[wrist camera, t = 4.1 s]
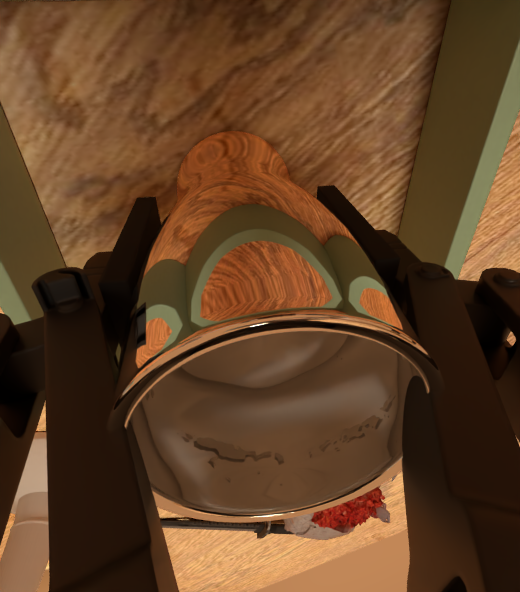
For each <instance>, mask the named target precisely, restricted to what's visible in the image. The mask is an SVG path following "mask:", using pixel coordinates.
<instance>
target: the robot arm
mask: <svg viewBox="0 0 520 592" xmlns="http://www.w3.org/2000/svg"><path fill="white" fill-rule="evenodd" d="M317 199H318V200H319V201H320V202H322V203H323V204H324V205H325V206H327V207H328V208H329V209H330V210H331V211H332V212H333V213H334V214H335V215H336V216H337V217H338V218H339V219H340V220H341V221H342V222H343V224H344V225H345V226H346V227H347V228H348V229H349V230H350V232H351V233H352V234H353V235H354V236H355V237H356V239H357V240H358V241H359V242H360V244H361V245H362V247H363V248H364V249H365V251H366V252H367V254H368V255H369V257H370V258H371V260H372V261H373V262H374V264H375V265H376V267H377V268H378V270H379V271H380V273H381V274H382V276H383V278H384V279H385V281H386V283H387V284H388V286H389V288H390V289H391V291H392V293H393V294H394V296H395V298H396V299H397V301H398V303H399V305H400V306H401V308H402V310H403V312H404V314H405V315H406V317H407V319H408V321H409V323H410V324H411V326H412V328H413V330H414V331H415V333H416V335H417V336H418V338H419V340H420V341H421V343H422V345H423V346H424V348H425V349H426V350H427V352H428V353H429V354H430V355H431V356H432V358H433V359H434V360H435V362H436V363H437V365H438V367H439V369H440V371H441V373H442V376H443V379H444V383H445V390H444V391H438V392H433V391H429V393H427V392H426V388H425V384H424V382H423V380H422V378H421V377H419V376H417V375H416V376H413V377H412V378H411V380H410V382H409V384H408V388H407V392H406V397H405V404H404V413H403V426H402V451H403V457H402V472H403V483H404V494H405V505H406V516H407V527H408V538H409V550H410V565H409V573H408V580H407V592H520V447H519V444H518V441H517V439H518V440H519V442H520V273H518V272H516V271H514V270H511V269H509V270H508V269H506V268H490V269H486V270H484V271H483V272H482V274H481V276H480V279H479V281H478V282H477V281H467V280H457V279H455V278H454V276H453V274H452V273H451V271H450V270H448V269H446V268H445V267H443V266H440V265H438V264H435V263H429V262H421V260H420V259H419V258H418V257H417V256H416V255H415V254H414V253H413V252H412V251H411V250H410V249H407V246H406V245H405V244H404V243H402V241H401V240H400V239H399V238H398V237H397V236H396V235H394V234H392V233H390V232H388V231H386V230H375V229H374V228H373V227H372V226H371V225H370V224H369V223H368V222H367V220H366V219H365V218H364V217H363V216H362V215H361V214H360V213H359V212H358V211H357V210H356V208H355V207H354V206H353V205H352V204H351V203H350V202H349V201H348V200H347V199H346V198H345V196H344V195H343V194H342V193H341V192H340V191H339V190H338V189H337V188H336V187H335V186H334V185H331V186H318V187H317ZM160 226H161V222H160V217H159V212H158V207H157V202H156V197H144V198H137V199H136V201H135V204H134V206H133V208H132V210H131V212H130V214H129V217H128V219H127V221H126V223H125V225H124V227H123V230H122V232H121V234H120V236H119V238H118V240H117V243H116V245H115V247H114V249H113V251H111V252H98V253H96V254H95V255H94V256H92V257H91V258H90V259H89V260H88V261H87V262H86V264H85V266H84V268H83V269H80V268H76V267H66V268H60V269H56V270H53V271H50V272H47V273H45V274H43V275H41V276H39V277H38V278H37V279H36V280H35V281H34V282H33V284H32V286H31V288H32V290H33V292H34V294H35V296H36V298H37V300H38V302H39V304H40V306H41V308H42V310H43V312H44V316H43V317H40V318H37V319H34V320H31V321H27V322H23V323H20V324H16V325H14V324H13V322H12V320H11V319H10V317H9V316H8V315H5V314H1V313H0V545H1V541H2V538H3V535H4V532H5V528H6V525H7V522H8V519H9V516H10V512H11V509H12V506H13V503H14V499H15V496H16V493H17V490H18V487H19V483H20V480H21V477H22V474H23V471H24V467H25V464H26V461H27V458H28V454H29V451H30V448H31V445H32V442H33V438H34V435H35V432H36V429H37V425H38V422H39V419H40V416H41V413H42V409H43V406H44V403H45V400H46V441H47V485H48V529H49V572H50V582H49V583H50V584H49V592H179V590H178V586H177V583H176V579H175V575H174V571H173V567H172V563H171V560H170V556H169V552H168V548H167V544H166V540H165V537H164V533H163V529H162V525H161V521H160V517H159V514H158V510H157V506H156V502H155V498H154V495H153V492H152V489H151V486H150V481H149V478H148V475H147V471H146V468H145V464H144V461H143V458H142V455H141V451H140V448H139V445H138V442H137V439H136V436H135V433H134V430H133V427H132V424H131V421H129V423H128V426H127V429H126V428H123V429H120V430H115V431H109V430H107V429H106V424H107V421H108V417H109V415H110V412H111V409H112V405H113V399H114V393H115V387H116V380H117V373H118V366H119V361H118V359H117V356H116V350H117V347H118V343H119V345H120V348H121V347H122V341H123V335H124V330H125V324H126V318H127V314H128V310H129V306H130V302H131V298H132V294H133V290H134V286H135V282H136V279H137V276H138V273H139V271H140V268H141V265H142V263H143V260H144V257H145V255H146V252H147V249H148V247H149V245H150V243H151V241H152V239H153V238H154V236H155V234H156V233H157V231H158V229H159V228H160ZM511 331H512V332H513V334H514V336H515V337H516V342H515V344H514V345H513V346H512V345H510V343H509V342H508V341H507V340H506V339H507V337H508V335H509V333H510V332H511ZM516 437H517V439H516Z"/></svg>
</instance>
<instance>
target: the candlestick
mask: <svg viewBox="0 0 520 592" xmlns="http://www.w3.org/2000/svg"><path fill="white" fill-rule="evenodd" d="M10 513H13V514H15V520H14V524H13V526H12V527H11V529H10V534H9V537H8V540H7V543H6V546H5V549H4V552H3V555H2V558H1V561H0V592H37V591H38V588H39V585H40V582H41V580H42V577H43V573H44V571H45V568H46V565H47V563H48V560H49V529H48V485H47V441H46V432H35V435H34V438H33V442H32V445H31V448H30V451H29V454H28V458H27V461H26V464H25V467H24V471H23V474H22V477H21V480H20V483H19V487H18V490H17V493H16V496H15V499H14V503H13V506H12V509H11V512H10Z"/></svg>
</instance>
